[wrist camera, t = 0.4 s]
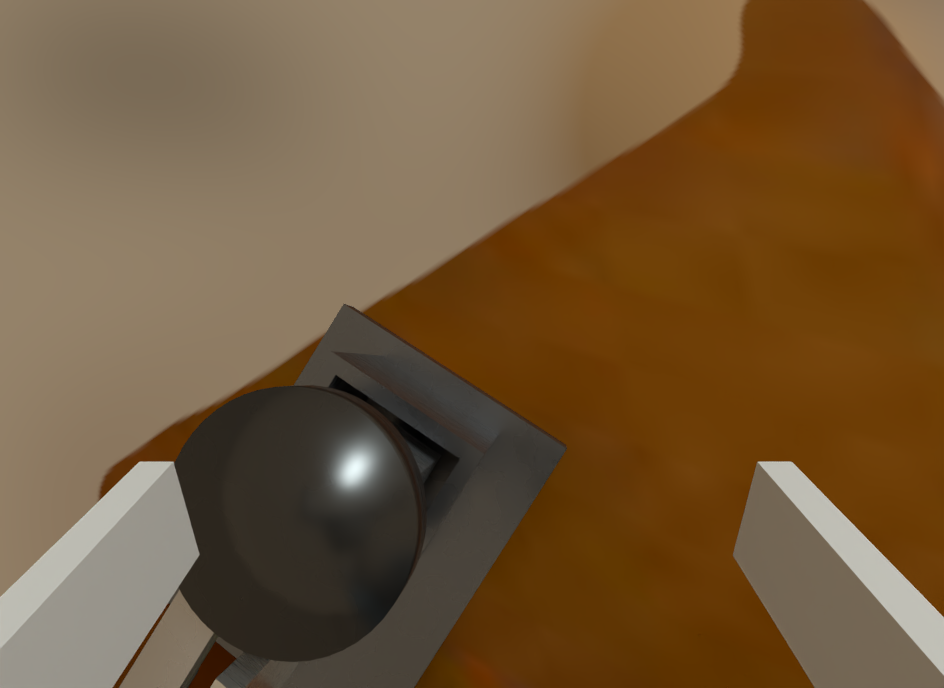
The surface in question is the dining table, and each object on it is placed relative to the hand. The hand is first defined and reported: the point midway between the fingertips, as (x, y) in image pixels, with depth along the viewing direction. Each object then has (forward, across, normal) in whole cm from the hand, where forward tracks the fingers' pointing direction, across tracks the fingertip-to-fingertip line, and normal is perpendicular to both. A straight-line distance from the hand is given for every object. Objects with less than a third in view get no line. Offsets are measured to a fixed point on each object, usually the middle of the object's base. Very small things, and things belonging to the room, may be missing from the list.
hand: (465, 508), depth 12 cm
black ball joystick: (+11, +7, +11) cm, 17 cm away
